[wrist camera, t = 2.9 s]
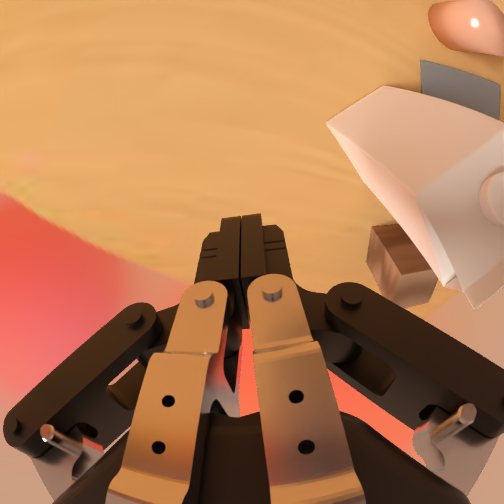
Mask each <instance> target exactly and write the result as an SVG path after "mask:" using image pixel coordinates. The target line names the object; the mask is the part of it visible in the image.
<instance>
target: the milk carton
mask: <svg viewBox="0 0 504 504" xmlns="http://www.w3.org/2000/svg"><path fill="white" fill-rule="evenodd" d="M326 125H327V127H328V128H329V129H330V131H331V132H332V134H333V135H334V137H335V138H336V140H337V141H338V143H339V144H340V146H341V147H342V149H343V150H344V152H345V153H346V155H347V156H348V158H349V160H350V161H351V163H352V164H353V166H354V168H355V169H356V171H357V173H358V174H359V176H360V178H361V179H362V181H363V182H364V183H365V184H366V185H367V187H368V188H369V189H370V190H371V191H372V192H373V193H374V195H375V196H376V197H377V198H378V199H379V200H380V201H381V203H382V204H383V205H384V206H385V207H386V209H387V210H388V211H389V212H390V213H391V215H392V216H393V217H394V218H395V220H396V221H397V222H398V223H399V225H400V226H401V227H402V228H403V230H404V231H405V232H406V234H407V235H408V236H409V237H410V239H411V240H412V241H413V243H414V244H415V246H416V247H417V248H418V250H419V251H420V252H421V254H422V255H423V257H424V258H425V259H426V261H427V262H428V264H429V265H430V267H431V268H432V270H433V271H434V273H435V274H436V276H437V277H438V279H439V280H440V282H441V283H442V285H443V287H446V288H450V289H453V290H457V291H460V292H463V293H464V294H465V296H466V297H467V299H468V301H469V302H470V304H471V305H472V307H473V309H474V310H476V309H477V308H478V307H480V306H481V305H483V304H484V303H485V302H487V301H488V300H489V299H490V298H492V297H493V296H494V295H495V294H497V293H498V292H499V291H500V290H501V289H503V288H504V123H503V122H501V121H499V120H497V119H494V118H492V117H490V116H487V115H485V114H482V113H480V112H477V111H475V110H472V109H469V108H467V107H464V106H461V105H458V104H455V103H452V102H449V101H446V100H443V99H439V98H436V97H432V96H429V95H425V94H421V93H417V92H413V91H409V90H405V89H400V88H395V87H390V86H385V85H384V86H382V87H380V88H378V89H377V90H375V91H373V92H372V93H370V94H369V95H367V96H365V97H364V98H362V99H361V100H359V101H357V102H356V103H354V104H353V105H351V106H350V107H348V108H346V109H345V110H343V111H342V112H340V113H339V114H337V115H336V116H334V117H333V118H331V119H330V120H328V121H327V122H326Z"/></svg>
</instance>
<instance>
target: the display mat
mask: <svg viewBox="0 0 504 504" xmlns="http://www.w3.org/2000/svg"><path fill="white" fill-rule="evenodd" d="M420 62H421V88H422V94H425V95H429V96H432V97H436V98H439V99H443V100H446V101H449V102H452V103H455V104H458V105H461V106H464V107H467V108H469V109H472V110H475V111H477V112H480V113H482V114H485V115H487V116H490V117H492V118H494V119H497V120H499V115H500V85H499V84H497V83H494V82H492V81H489V80H487V79H484V78H481V77H479V76H476V75H473V74H470V73H467V72H464V71H461V70H458V69H454V68H451V67H447V66H444V65H440V64H436V63H432V62H428V61H423V60H420Z"/></svg>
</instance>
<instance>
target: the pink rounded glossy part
mask: <svg viewBox="0 0 504 504" xmlns="http://www.w3.org/2000/svg"><path fill="white" fill-rule="evenodd" d="M428 17H429V23H430V26H431V28H432V31H433V32H434V34H435V36H436V37H437V38H438V40H439V41H440V42H441V43H442V44H443V45H444V46H446V47H447V48H449V49H452V50H459V51H469V52H477V53H484V54H491V55H496V56H502V57H504V15H503V13H502V12H501V10H500V9H499V8H498V7H497V6H496V5H495V4H494V3H493V2H491V1H490V0H453V1H446V2H439V3H435V4H433V5H432V6H431V7H430V9H429V13H428Z"/></svg>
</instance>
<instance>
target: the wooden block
mask: <svg viewBox="0 0 504 504" xmlns="http://www.w3.org/2000/svg"><path fill="white" fill-rule="evenodd" d="M366 262H367V264H368V266H369V268H370V270H371V272H372V274H373V276H374V278H375V280H376V282H377V285H378V287H379V289H380V291H381V293H382V295H383V297H385V298H386V299H388V300H390V301H392V302H393V303H395V304H397V305H399V306H400V307H402V308H407V307H412V306H416V305H420V304H425V303H428V302H429V300H430V298H431V296H432V293H433V291H434V288H435V286H436V283H437V281H438V277H437V276H436V274H435V273H434V271H433V270H432V268H431V267H430V265H429V264H428V262H427V261H426V259H425V258H424V257H423V255H422V254H421V252H420V251H419V250H418V248H417V247H416V246H415V244H414V243H413V241H412V240H411V239H410V237H409V236H408V235H407V234H406V232H405V231H404V230H403V228H402V227H401V226H400V225H399V224H394V225H384V226H374V227H371V233H370V241H369V247H368V254H367V260H366Z"/></svg>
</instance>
